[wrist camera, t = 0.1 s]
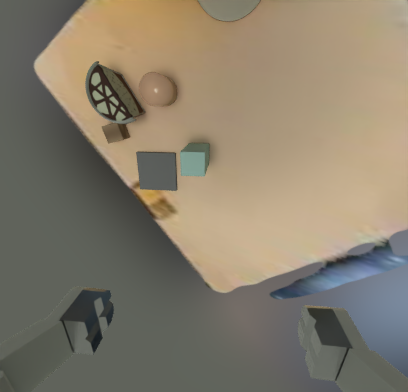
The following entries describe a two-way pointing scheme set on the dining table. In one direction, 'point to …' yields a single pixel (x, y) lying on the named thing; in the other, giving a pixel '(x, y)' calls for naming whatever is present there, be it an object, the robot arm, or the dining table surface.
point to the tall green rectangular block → (194, 159)
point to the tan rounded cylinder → (157, 89)
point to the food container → (111, 95)
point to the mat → (157, 170)
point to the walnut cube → (115, 132)
